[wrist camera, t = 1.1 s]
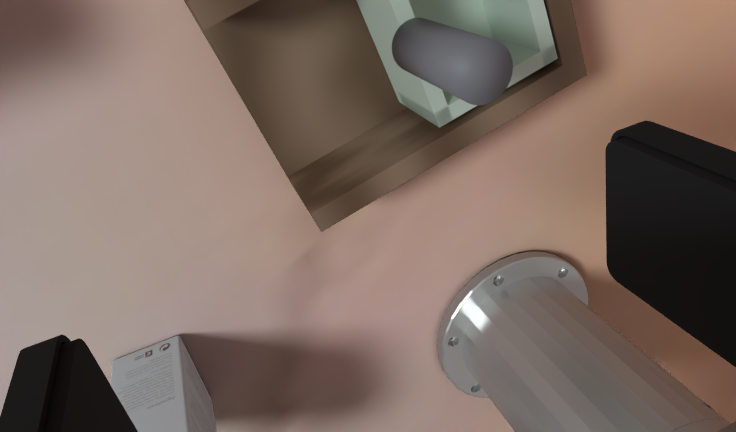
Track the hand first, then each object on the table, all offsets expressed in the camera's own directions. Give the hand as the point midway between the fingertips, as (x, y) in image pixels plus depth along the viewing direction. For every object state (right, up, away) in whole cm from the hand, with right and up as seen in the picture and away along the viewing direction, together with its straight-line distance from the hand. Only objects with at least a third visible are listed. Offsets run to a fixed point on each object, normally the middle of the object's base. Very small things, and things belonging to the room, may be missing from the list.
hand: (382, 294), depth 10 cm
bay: (0, +12, +21) cm, 24 cm away
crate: (+2, +12, +21) cm, 24 cm away
